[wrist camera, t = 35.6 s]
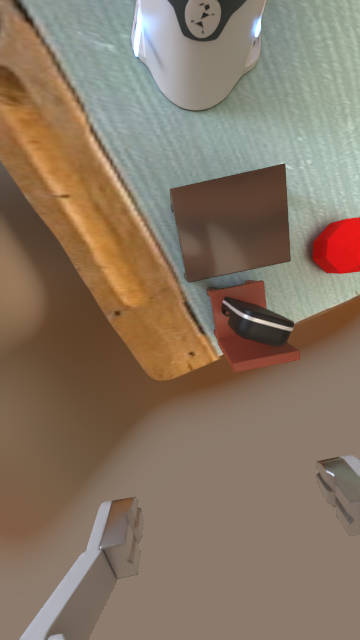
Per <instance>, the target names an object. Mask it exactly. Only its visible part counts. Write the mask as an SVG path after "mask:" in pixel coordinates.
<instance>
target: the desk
mask: <svg viewBox="0 0 360 640" xmlns="http://www.w3.org/2000/svg"><path fill="white" fill-rule="evenodd" d="M170 198H171V209H172V212H174V215H175V220H176V225H177V231H178V236H179V241H180V246H181V251H182V257H183V262H184V267H185V272H186V273H184V276H185V279H186V281H187V282H188V283H189V282H193V281H198V280H203V279H208V278H212V277H217V276H222V275H227V274H232V273H236V272H241V271H246V270H251V269H255V268H260V267H265V266H270V265H275V264H279V263H284V262H289V261H291V259H290V241H289V223H288V205H287V187H286V169H285V164H281V165H276V166H272V167H267V168H263V169H258V170H254V171H249V172H245V173H240V174H236V175H231V176H227V177H222V178H218V179H213V180H209V181H204V182H200V183H195V184H191V185H186V186H182V187H177V188H173V189H170Z"/></svg>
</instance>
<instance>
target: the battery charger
mask: <svg viewBox="0 0 360 640" xmlns="http://www.w3.org/2000/svg"><path fill="white" fill-rule="evenodd" d="M221 310H222V313H223V315H225V316H228V317H229V320H228V325H229V327H230V328H231V329H232V330H233V331H234V332H235V333H236V334H237V335H239V336H240V337H242V338H244V339H248V340H252V341H255V342H259V343H263V344H267V345H271V346H275V347H280V346H283V345H284V344H285V343H286V342H287V340H288V338H289V335H290V333H291V331H292V330H293V328H294V327H293V326H294V322H293V321H291V320H289V319H287V318H285V317H283V316H281V315H279V314H276V313H274V312H272V311H270V310H268V309H265V308H263V307H261V306H259V305H255V304H252V303H248V302H245V301H241V300H237V299H234V298H230V297H225V298H224V300H223V304H222V308H221Z"/></svg>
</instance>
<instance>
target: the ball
mask: <svg viewBox="0 0 360 640" xmlns="http://www.w3.org/2000/svg"><path fill="white" fill-rule="evenodd" d="M313 260H314V261H315V262H316V263H317V264H318V265H319V266H320V267H321V268H322V269H323V270H324V271H325V272H326V273H339V274H342V273H351V272H359V271H360V217H359V218H350V219H344V220H341V221H337V222H333V223H330V224H329V225H328V226H327V227H326V229H325V230H324V231H323V232H322V233H321V234H320V235H319V236H318V237H317V239H316V240H315V241H314V242H313Z"/></svg>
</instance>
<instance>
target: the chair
mask: <svg viewBox="0 0 360 640" xmlns="http://www.w3.org/2000/svg"><path fill="white" fill-rule="evenodd" d="M207 294H208V296H209V297H211V303H212V309H213V315H214V322H215V328H216V329H214V335H215V337H216V338H217V340H218V345H219V346H220V348H221V350H222V352H223V354H224V355H225V357H226V359H227V361H228V363H229V364H230V366H231V368H232V370H233V372H239V371H244V370H250V369H255V368H260V367H265V366H270V365H275V364H280V363H285V362H291V361H296V360H300V354H299V350H298V349H296V348H295V347H293V346H292V345H290V344H289V343H288V342H286V343H285V344H284V345H283V346H280V347H275V346H271V345H267V344H263V343H259V342H255V341H252V340H248V339H244V338H242V337H240V336H239V335H237V334H236V333H235V332H234V331H233V330H232V329H231V328H230V327H229V325H228V320H229V317H228V316H225V315H223V313H222V310H221V308H222V304H223V300H224V298H225V297H230V298H234V299H237V300H241V301H245V302H248V303H252V304H255V305H259V306H261V307H263V308H265V309H266V300H265V289H264V281H254V280H248V281H245V284H242V285H237V286H232V287H227V288H222V289H217V290H216V289H214V288H209V289H207Z"/></svg>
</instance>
